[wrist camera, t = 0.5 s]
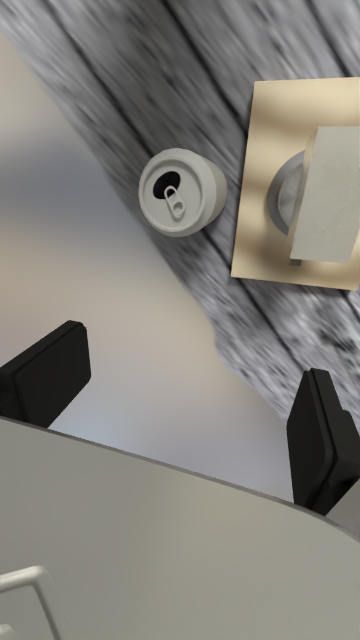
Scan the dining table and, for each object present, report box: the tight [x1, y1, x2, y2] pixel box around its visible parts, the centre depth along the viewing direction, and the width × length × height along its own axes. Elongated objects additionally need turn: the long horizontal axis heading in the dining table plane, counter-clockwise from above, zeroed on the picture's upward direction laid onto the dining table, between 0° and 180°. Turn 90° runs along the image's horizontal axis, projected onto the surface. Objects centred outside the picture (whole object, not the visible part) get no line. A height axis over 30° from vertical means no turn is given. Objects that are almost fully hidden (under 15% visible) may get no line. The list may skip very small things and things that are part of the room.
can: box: [138, 148, 228, 237], centre depth 29 cm, size 8×8×12 cm
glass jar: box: [277, 126, 360, 264], centre depth 25 cm, size 10×7×10 cm
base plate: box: [231, 77, 360, 291], centre depth 30 cm, size 20×15×2 cm
